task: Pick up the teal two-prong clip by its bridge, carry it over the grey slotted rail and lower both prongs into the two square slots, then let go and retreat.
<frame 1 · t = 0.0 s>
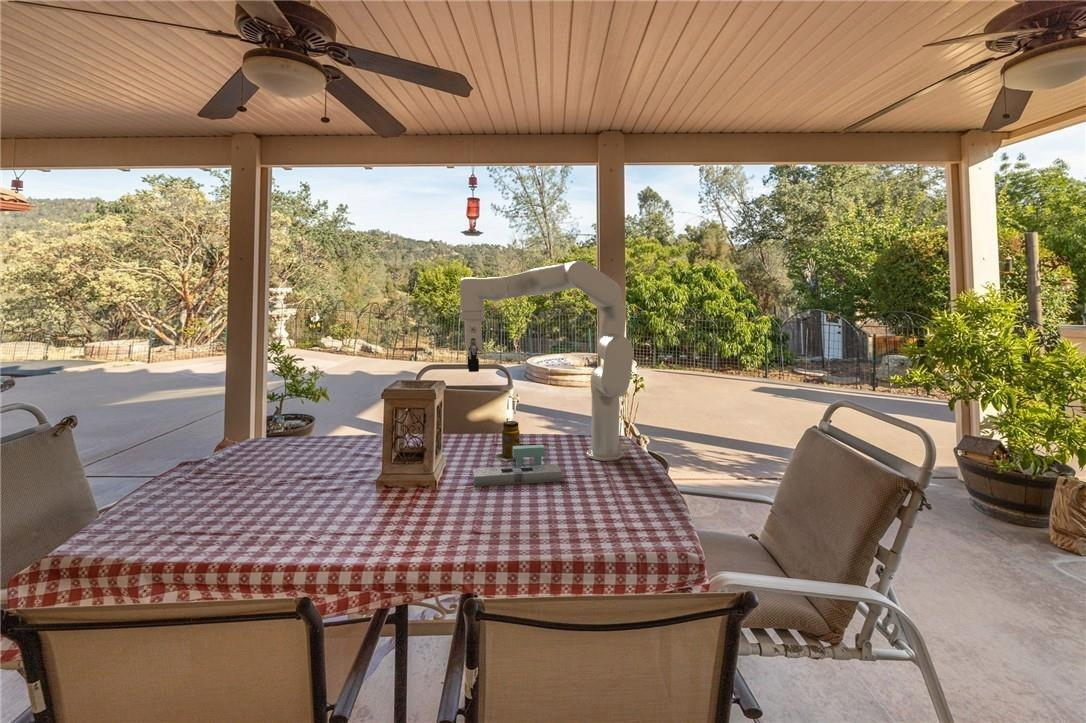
hand: (473, 369, 161), 31 cm above the table, tool pointing down, fingers open, 9 cm apart
clip: (528, 467, 160), on the table
condiment: (508, 457, 171), on the table
rail: (517, 479, 149), on the table
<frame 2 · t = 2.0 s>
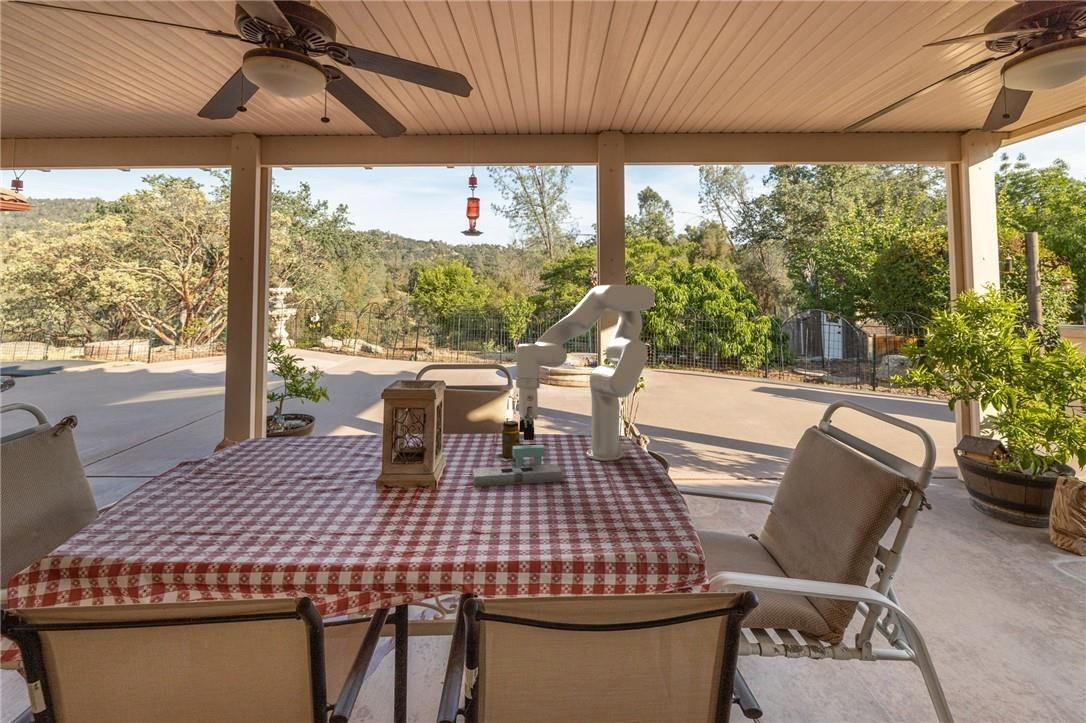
hand: (526, 435, 158), 11 cm above the table, tool pointing down, fingers open, 9 cm apart
nothing on the table moved.
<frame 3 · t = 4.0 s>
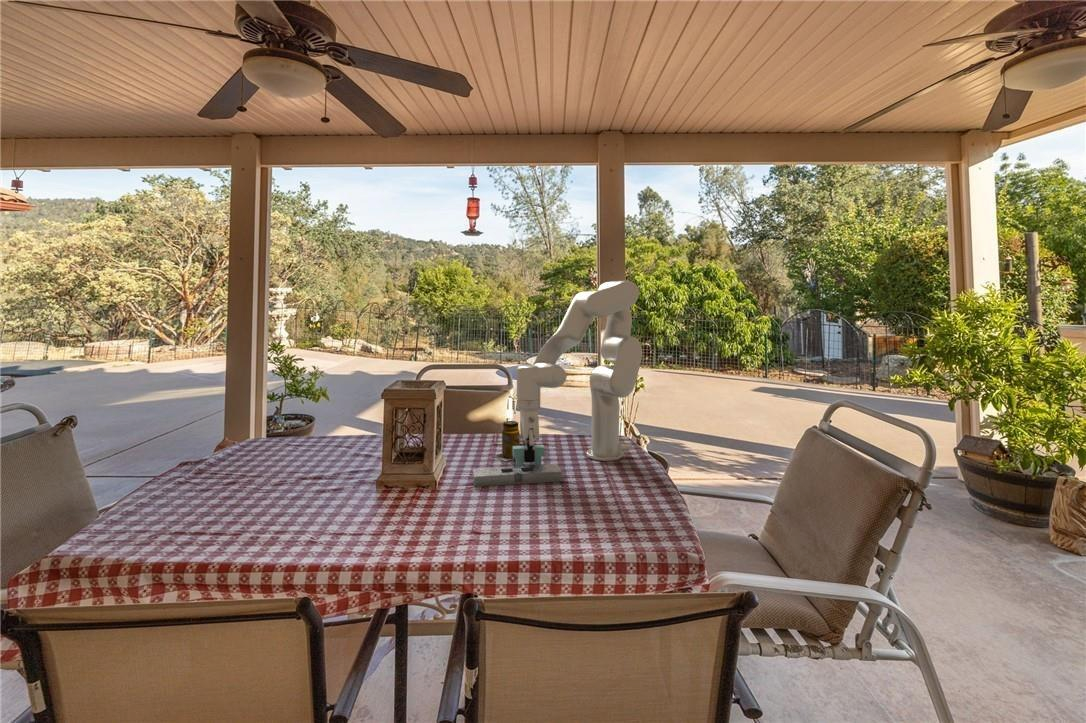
hand: (528, 459, 159), 3 cm above the table, tool pointing down, fingers closed on clip, 3 cm apart
clip: (528, 467, 160), on the table, touching gripper
everything else where it was.
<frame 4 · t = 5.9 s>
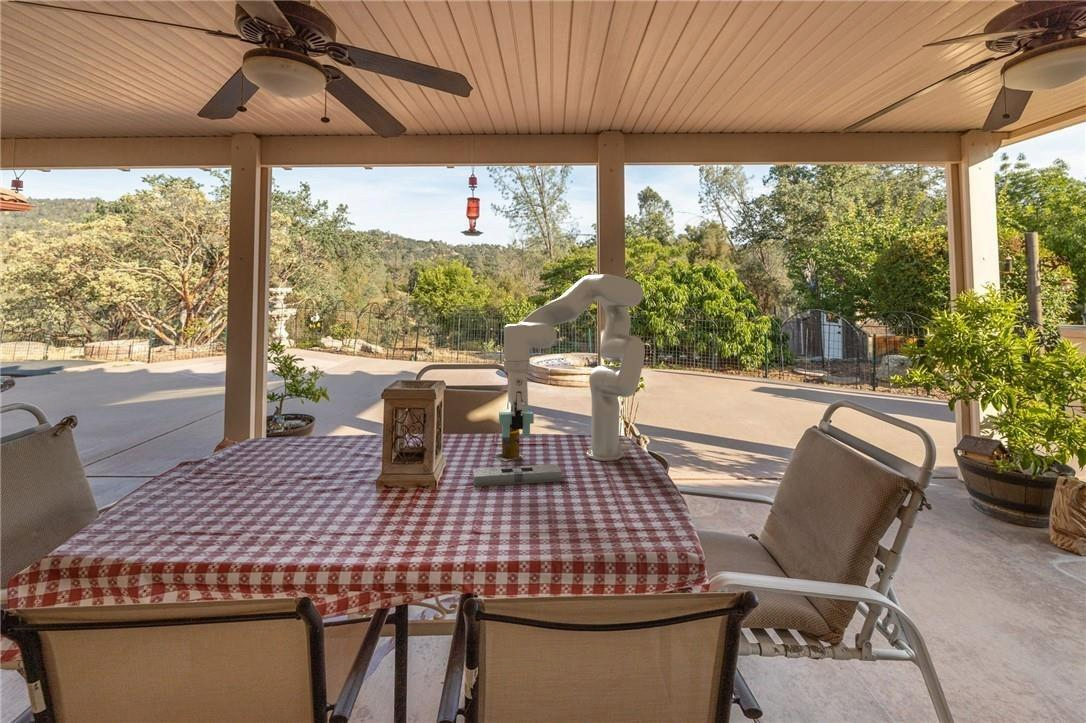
hand: (516, 427, 147), 16 cm above the table, tool pointing down, fingers closed on clip, 3 cm apart
clip: (516, 436, 147), point 13 cm above the table, touching gripper
everything else where it was.
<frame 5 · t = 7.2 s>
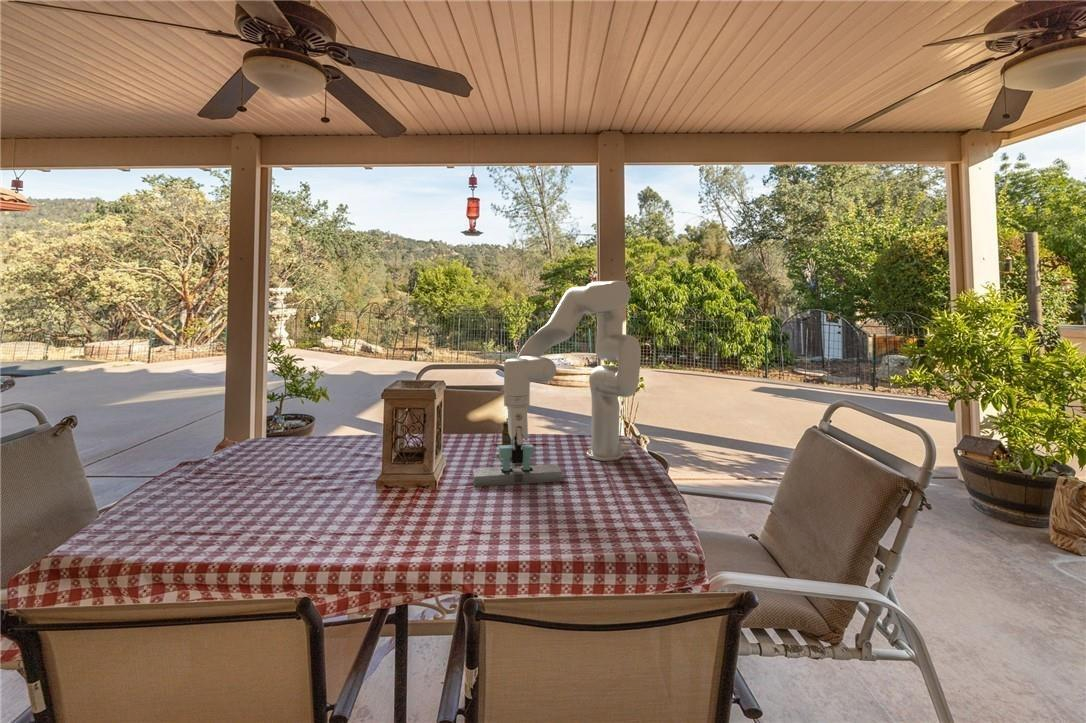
hand: (516, 460, 148), 6 cm above the table, tool pointing down, fingers closed on clip, 3 cm apart
clip: (516, 469, 148), point 3 cm above the table, touching gripper
everything else where it was.
when the fingers open (5 cm above the table, at t = 8.0 s): clip drops 1 cm, resting on rail.
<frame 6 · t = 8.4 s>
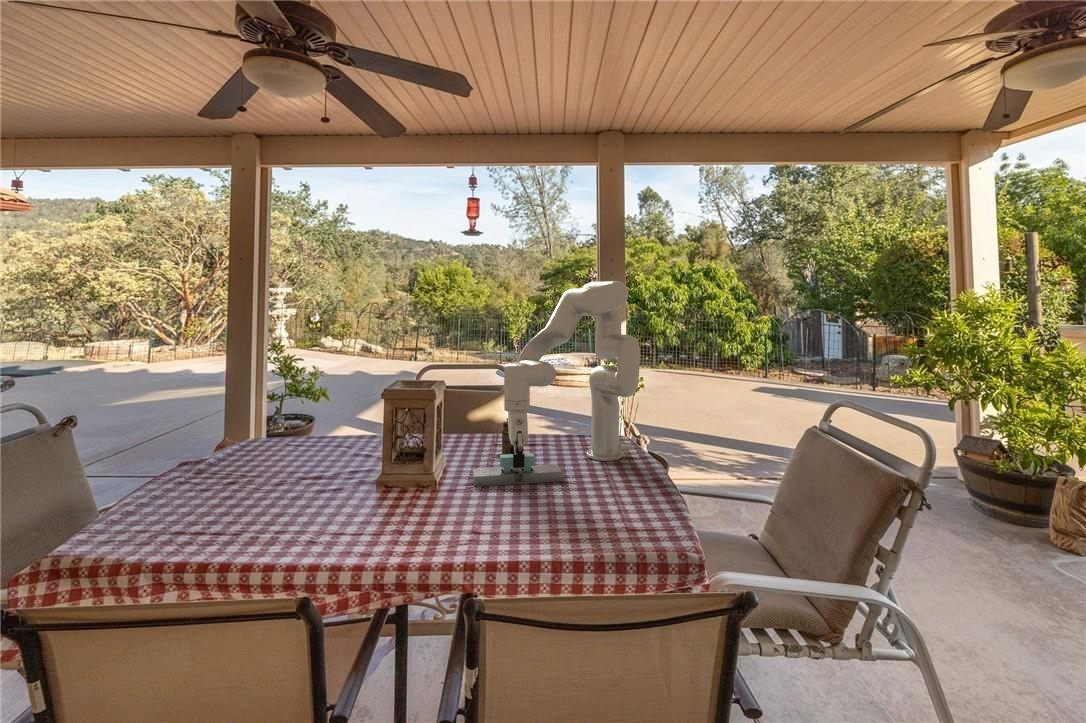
hand: (517, 462, 148), 5 cm above the table, tool pointing down, fingers open, 7 cm apart
clip: (517, 478, 149), point 1 cm above the table, touching rail
everything else where it was.
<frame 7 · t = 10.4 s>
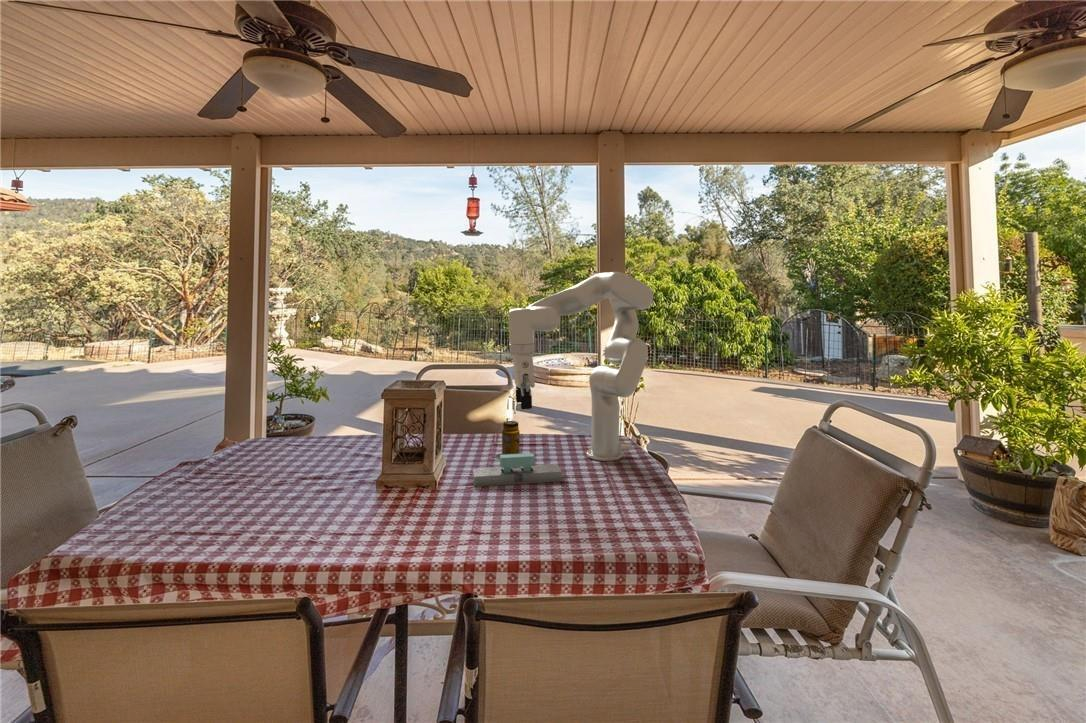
hand: (523, 405, 151), 22 cm above the table, tool pointing down, fingers open, 9 cm apart
nothing on the table moved.
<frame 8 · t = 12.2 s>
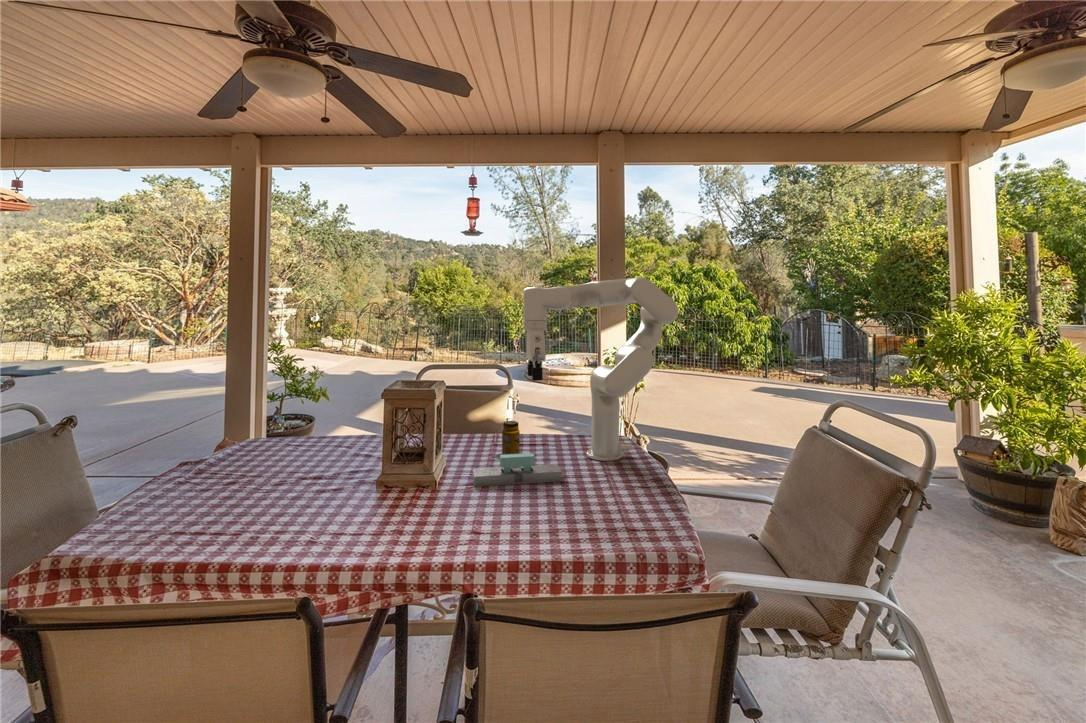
hand: (534, 377, 163), 28 cm above the table, tool pointing down, fingers open, 9 cm apart
nothing on the table moved.
at the end: clip 0.0 cm off-centre on the rail, point 0.5 cm above the rail's base; clip tilted 0°; the gripper is holding nothing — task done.
